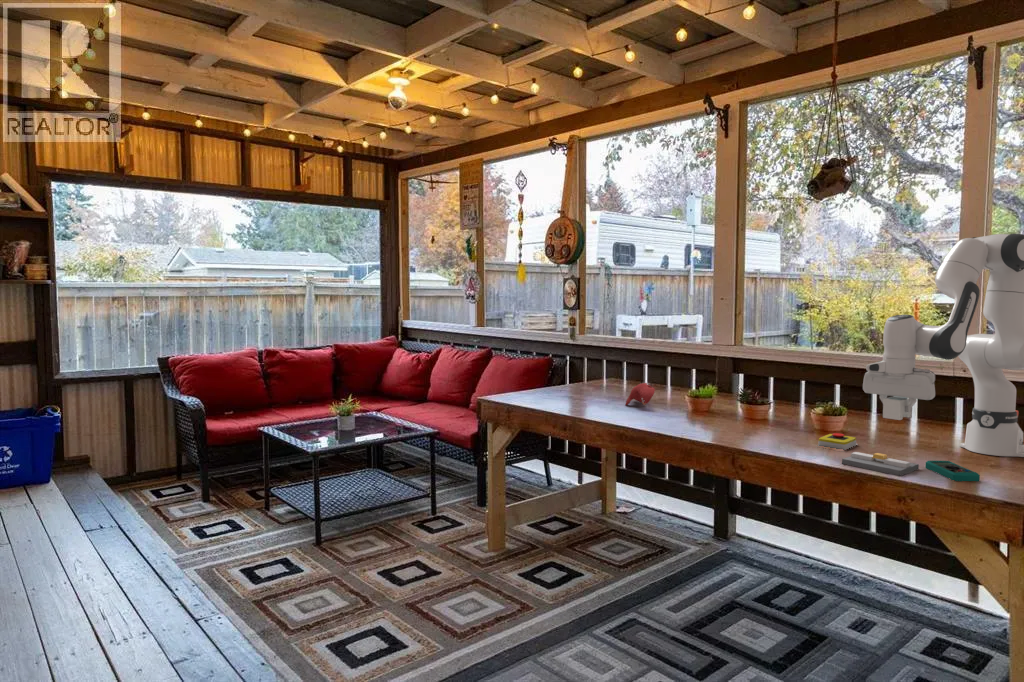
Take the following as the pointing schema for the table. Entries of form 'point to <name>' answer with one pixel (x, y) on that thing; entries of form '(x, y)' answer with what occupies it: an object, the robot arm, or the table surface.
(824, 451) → the table surface
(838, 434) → the emergency button
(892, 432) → the table surface
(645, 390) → the decorative bird sculpture
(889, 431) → the table surface
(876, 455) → the latch pin
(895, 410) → the block
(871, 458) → the rail board
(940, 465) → the digital multimeter
